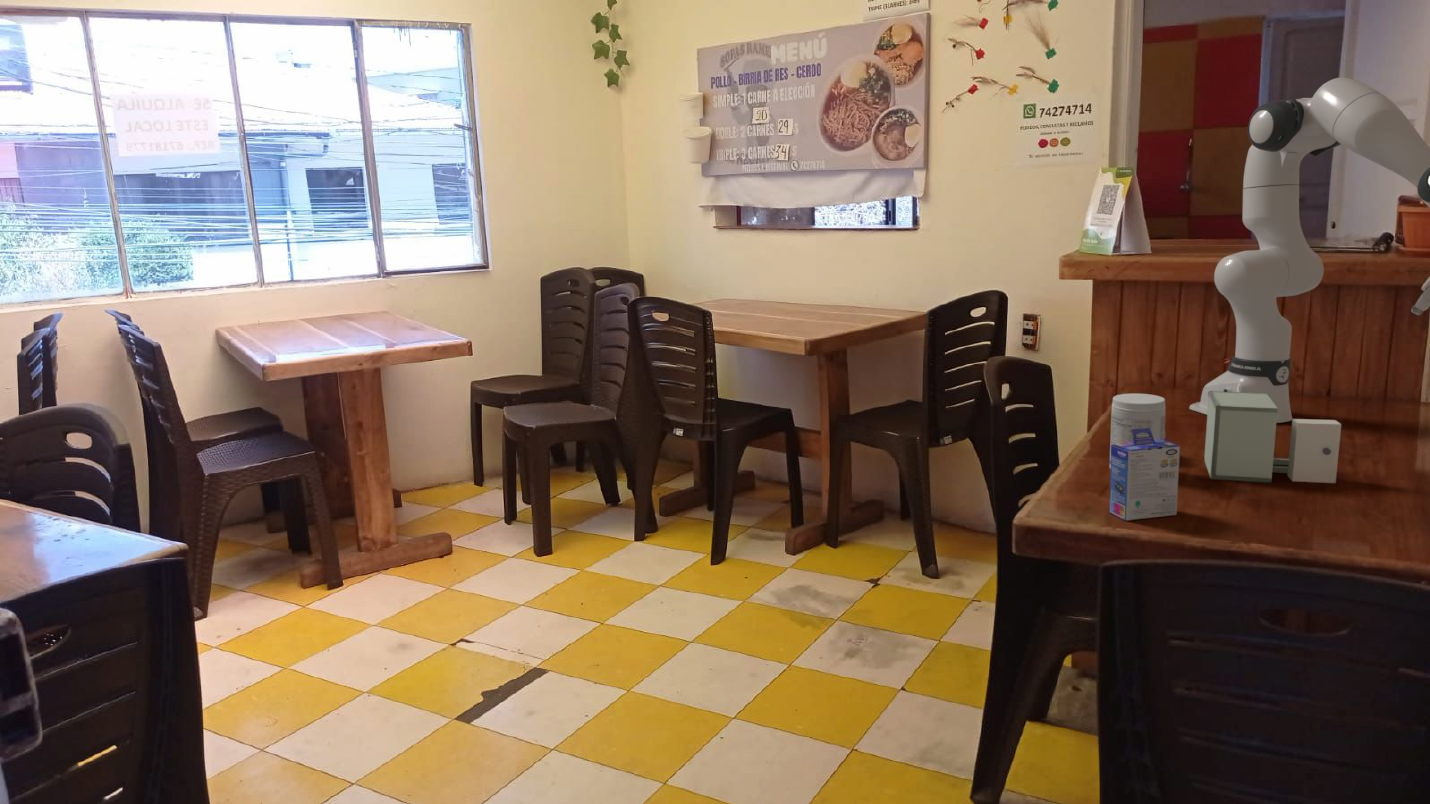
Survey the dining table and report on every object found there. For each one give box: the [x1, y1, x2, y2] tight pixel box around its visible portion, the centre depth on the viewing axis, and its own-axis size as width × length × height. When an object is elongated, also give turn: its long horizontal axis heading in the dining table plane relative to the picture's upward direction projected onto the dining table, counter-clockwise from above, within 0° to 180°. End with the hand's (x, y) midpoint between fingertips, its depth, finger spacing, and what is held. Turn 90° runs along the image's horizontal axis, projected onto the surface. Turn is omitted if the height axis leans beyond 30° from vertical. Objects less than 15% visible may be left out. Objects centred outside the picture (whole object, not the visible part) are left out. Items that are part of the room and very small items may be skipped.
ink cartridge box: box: [1109, 428, 1181, 521], centre depth 165 cm, size 10×6×14 cm, turn 102°
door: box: [1287, 418, 1342, 484], centre depth 181 cm, size 7×4×11 cm, turn 74°
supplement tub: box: [1109, 393, 1166, 470], centre depth 189 cm, size 10×10×15 cm
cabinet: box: [1203, 391, 1289, 484], centre depth 186 cm, size 18×15×14 cm
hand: (1417, 311), depth 178 cm, fingers open, 8 cm apart
